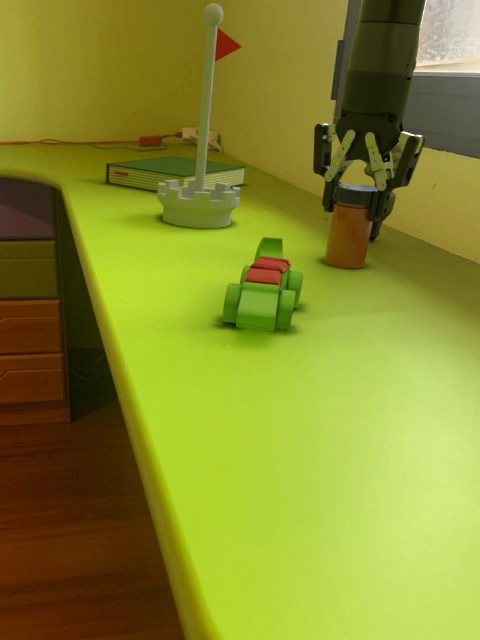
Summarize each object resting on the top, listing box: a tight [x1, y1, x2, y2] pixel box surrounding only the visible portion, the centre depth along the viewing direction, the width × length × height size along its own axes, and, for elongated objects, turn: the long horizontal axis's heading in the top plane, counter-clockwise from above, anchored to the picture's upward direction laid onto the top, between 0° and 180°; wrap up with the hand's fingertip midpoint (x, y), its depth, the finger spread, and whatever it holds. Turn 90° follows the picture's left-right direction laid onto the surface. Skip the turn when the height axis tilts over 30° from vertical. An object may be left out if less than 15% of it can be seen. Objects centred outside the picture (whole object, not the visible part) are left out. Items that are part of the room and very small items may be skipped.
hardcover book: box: [105, 155, 247, 193], centre depth 143 cm, size 25×19×4 cm
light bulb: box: [363, 141, 402, 242], centre depth 101 cm, size 6×6×15 cm
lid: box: [332, 182, 378, 205], centre depth 87 cm, size 6×6×2 cm
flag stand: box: [156, 2, 243, 229], centre depth 104 cm, size 13×13×30 cm
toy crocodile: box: [222, 236, 305, 332], centre depth 69 cm, size 20×7×6 cm, turn 164°
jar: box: [323, 201, 373, 269], centre depth 90 cm, size 5×5×9 cm
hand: (352, 215), depth 89 cm, fingers closed on lid, 5 cm apart
